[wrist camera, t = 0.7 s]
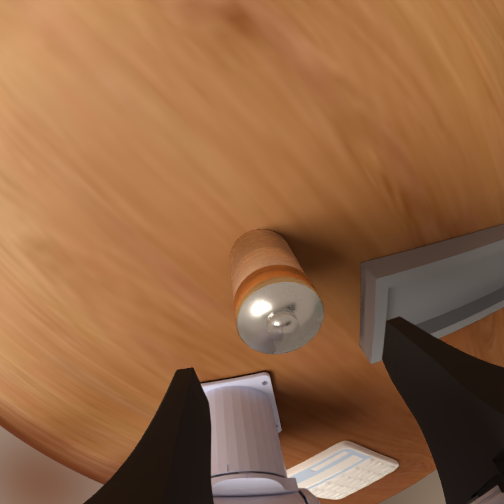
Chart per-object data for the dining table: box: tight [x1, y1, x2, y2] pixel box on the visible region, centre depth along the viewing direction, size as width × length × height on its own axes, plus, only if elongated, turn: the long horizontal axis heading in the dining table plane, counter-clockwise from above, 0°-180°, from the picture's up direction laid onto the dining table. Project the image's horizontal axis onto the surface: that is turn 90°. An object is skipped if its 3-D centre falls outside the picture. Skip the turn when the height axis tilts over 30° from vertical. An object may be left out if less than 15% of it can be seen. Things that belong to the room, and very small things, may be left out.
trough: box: [360, 224, 504, 364], centre depth 22 cm, size 8×20×2 cm, turn 100°
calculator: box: [286, 441, 399, 499], centre depth 35 cm, size 13×20×2 cm, turn 43°
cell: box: [230, 229, 324, 354], centre depth 17 cm, size 4×4×8 cm
